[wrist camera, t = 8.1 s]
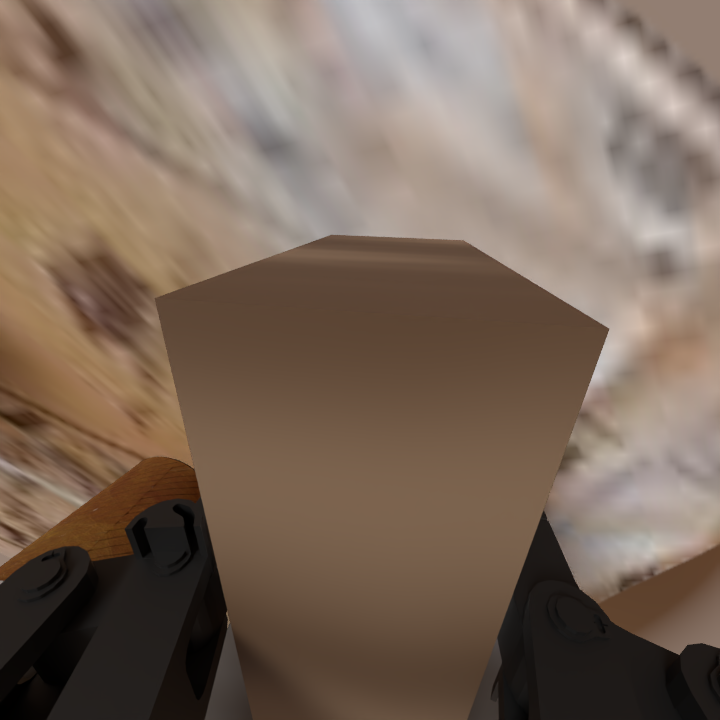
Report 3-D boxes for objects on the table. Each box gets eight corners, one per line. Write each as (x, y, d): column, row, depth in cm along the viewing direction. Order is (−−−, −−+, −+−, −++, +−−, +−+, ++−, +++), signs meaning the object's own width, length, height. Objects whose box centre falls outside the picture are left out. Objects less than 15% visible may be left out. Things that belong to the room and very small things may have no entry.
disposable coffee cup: (214, 440, 23) (45, 644, 12) (243, 535, 27) (133, 753, 16) (95, 436, 25) (-151, 617, 14) (139, 527, 28) (-26, 723, 18)
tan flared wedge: (473, 548, 15) (531, 856, 8) (282, 522, 16) (181, 775, 9) (551, 244, 10) (971, 353, 2) (254, 231, 11) (-71, 282, 3)
